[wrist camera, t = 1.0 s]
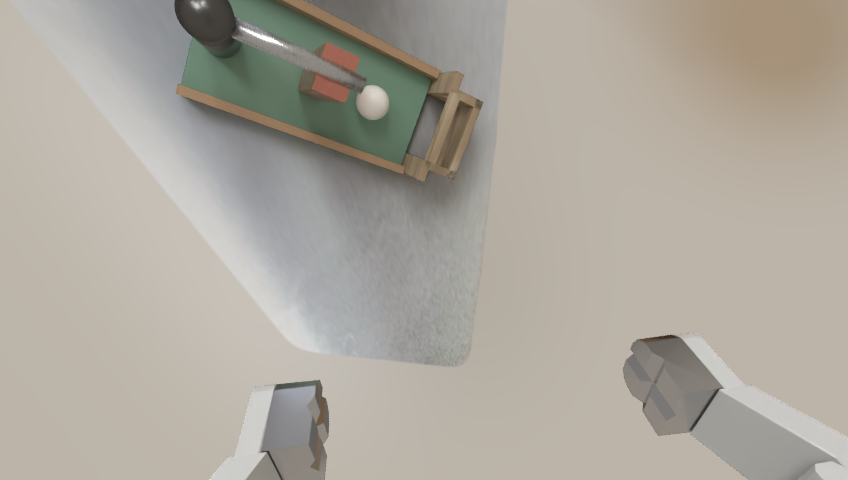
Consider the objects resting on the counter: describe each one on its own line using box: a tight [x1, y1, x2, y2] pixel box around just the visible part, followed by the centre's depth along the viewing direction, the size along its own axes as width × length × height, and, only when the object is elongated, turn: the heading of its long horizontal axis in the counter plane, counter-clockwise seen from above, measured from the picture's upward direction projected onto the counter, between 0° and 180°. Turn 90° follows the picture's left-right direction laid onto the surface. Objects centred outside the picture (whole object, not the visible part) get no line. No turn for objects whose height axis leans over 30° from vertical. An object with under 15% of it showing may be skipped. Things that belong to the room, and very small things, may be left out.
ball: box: [356, 85, 389, 120], centre depth 38 cm, size 3×3×3 cm
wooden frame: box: [401, 71, 483, 182], centre depth 41 cm, size 4×11×7 cm, turn 158°
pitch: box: [176, 0, 440, 174], centre depth 37 cm, size 21×11×2 cm, turn 68°
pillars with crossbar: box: [175, 0, 367, 103], centre depth 30 cm, size 12×3×12 cm, turn 68°
